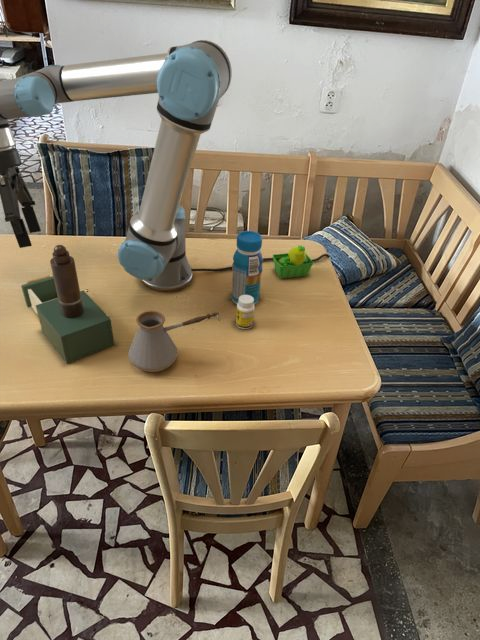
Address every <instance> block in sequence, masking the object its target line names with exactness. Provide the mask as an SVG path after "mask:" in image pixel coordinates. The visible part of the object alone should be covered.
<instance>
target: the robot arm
mask: <svg viewBox="0 0 480 640" xmlns="http://www.w3.org/2000/svg"><path fill="white" fill-rule="evenodd" d="M231 65H232V64H231V61H230V58H229V56H228V55H227V53H226V51H225V50H224V49H223V48H222V46H220V45H219V44H217V43H216V42H213V41H211V40H207V39H198V40H195V41H193V42H190V43H187V44H182V45H176V46H170V47H169V48H168V50H167V52H164V53H155V54H147V55H140V56H139V55H138V56H131V57H123V58H115V59H107V60H105V59H104V60H97V61H88V62H82V63H81V62H80V63H73V64H65V65H60V64H50V65H46V66H45V65H44V67H43V68H41V69H38V70H35V71H33V72H32V71H31V72H29V73H26V74H24V75H22V76H18V77H15V78H9V79H3V80H0V200H1V201H0V202H1V205H2V208H3V214H4V221H5V222H6V223H10V226H11V229H12V231H13V234H14V237H15V240H16V242H17V244H18V247H19V249H22V248H27V247H28V248H29V247H32V246H33V243H32V241H31V239H30V235H29V234H33V233H39V232H41V231H42V230H41V227H40V224H39V221H38V218H37V214H36V211H35V209H34V206H36V201H35V200H34V199H33V197H32V194H31V193H30V191H29V188H28V186H27V184H26V182H25V180H24V178H23V176H22V173H21V170H20V167H19V166H21V165H22V164H23V162H22V158H21V156H20V152H19V150H18V148H16V144H17V143H16V140H15V137H14V135H13V132H12V129H11V125H10V124H9V120H11V119H12V120H14V119H23V118H24V119H25V118H40V117H42V116H47V115H50V114H51V113H52V112H53V111H54V107H55V105H59V104H64V103H65V104H66V103H73V102H81V101H90V100H101V99H110V98H121V97H122V98H123V97H131V96H140V95H152V94H158V100H157V105H156V111H157V114H158V115H159V117H160V118H161V120H160V123H159V128H158V133H157V137H156V140H155V144H154V149H153V153H152V157H151V162H150V165H149V169H148V174H147V177H146V182H145V186H144V189H143V195H142V198H141V202H140V205H139V206H140V207H139V211H138V212H137V213H135V214H132V216H131V217H130V220H129V225H128V228H127V233H126V237H125V239H124V241H123V242H122V243H121V244H120V245H119V248H118V251H117V259H118V262H119V264H120V266H121V267H122V268H123V269H124V271H125V272H126V273H128V274H129V275H130V276H132V277H133V278H136V279H139V280H140V283H141V284H142V285H143V286H144V287H146V288H147V289H149V290H152V291H155V292H160V293H170V292H171V293H173V292H177V291H180V290H183V289H185V288H187V287H188V286H189V285H190V284H191V283H192V280H193V272H222V271H228V270H232V265H231V266H226V267H221V268H191V265H190V263H189V260H188V257H187V254H186V253H187V252H186V251H187V250H186V246H187V245H186V220H187V218H186V211H185V208H184V207H183V206H182V205H181V201H182V197H183V194H184V191H185V188H186V184H187V181H188V178H189V174H190V171H191V167H192V165H193V161H194V158H195V154H196V151H197V147H198V146H199V145H198V144H199V141H200V138H201V135H202V134H204V133H207V132H209V131H210V129H211V126H212V123H213V120H214V117H215V114H216V112H217V107H218V105H219V101H220V99H221V98H222V97H223V96H224V95H225V94H226V92H227V91H228V90H229V87H230V85H231V82H232V75H233V73H232V66H231ZM19 204H20V205H21V211H20V207H19V206H20V205H19ZM21 212H22V214H23V217H24V219H23V218H22V217H21ZM24 220H25V222H24ZM25 223H26V225H25ZM26 226H27V228H28V230H27V228H26ZM28 232H29V233H28ZM325 257H327V258H331V256H330V254H329V253H322V254H321V255H320V256H318V257H317V258H314V259H311V260H312V261H313V263H314V262H317V261H319V260H321V259H322V258H325ZM266 261H274V260H273V257H263V262H266Z"/></svg>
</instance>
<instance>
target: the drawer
mask: <svg viewBox="0 0 480 640" xmlns="http://www.w3.org/2000/svg"><path fill="white" fill-rule="evenodd" d="M20 288H21V292H22V295H23V298H24V302H25V306H26V307H27V308H32V310H33V311H34V312H35V313H36V315H37V316H38V313H37V309H36V305H38V304H42V303H45V302H48V301H51V300H54V299H58V296H57V291H56V287H55V282H54V277H53V275H52V276H50V275H49V274H48V275H45V276H41V277H37V278H34V279H30V280H27V281H26V283H23V284H21V285H20Z"/></svg>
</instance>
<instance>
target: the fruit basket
mask: <svg viewBox="0 0 480 640" xmlns="http://www.w3.org/2000/svg"><path fill="white" fill-rule="evenodd" d="M272 258H273V260H272V261H273V265H274V271H275V272H276V274H277V275H278V276H279V277H280V279H287V278H289V279H290V278H297V277H298V278H299V277H305V276H307V275H308V273H309V271H310V270H311V267H313V265H314V262H313V261H312V260H313V259H312V258H311V257H310V256H309V255H308V254H307V253H306V247H305V246H303V245H301V244H299V245H297V246H294V247H291V248H290V249H289V250H288V252H286V253H278V254H277V253H276V254H272Z"/></svg>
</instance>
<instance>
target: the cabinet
mask: <svg viewBox="0 0 480 640" xmlns="http://www.w3.org/2000/svg"><path fill="white" fill-rule="evenodd" d="M80 294H81V299H82V305H83V310H84V312H83V314H82V315H81V316H79V317H76V318H66V317H64V316H63V315H62V314H61V309H60V305H59V301H58V299H54V300H51V301H48V302H45V303H42V304H38V305H36V309H37V313H38V315H37V316H38V321H39V324H40V328H41V332H42V333H43V335H44V336H45V337H46V339H47V340H48V341H49V343H50V344H51V345H52V346H53V348H54V349H55V350H56V352H57V353H58V355H60V357H61V358H62V359H63V361H64V363H66V364H70V363H72V362H75V361H78V360H80V359H83V358H85V357H88V356H90V355H92V354H95V353H98V352H100V351H103V350H106V349H108V348H111V347H114V346H115V340H114V339H115V338H114V333H113V332H114V331H113V325H112V319H111V317H110V316H109V315H108V314H107V313H106V312H105V311H104V310H103V309H102V308H101V307H100V306H99V305H98V304H97V303H96V302H95V301H94V299H92V298H91V296H89V294H88V293H87V292H86V291H85V290H80ZM37 313H36V314H37Z"/></svg>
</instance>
